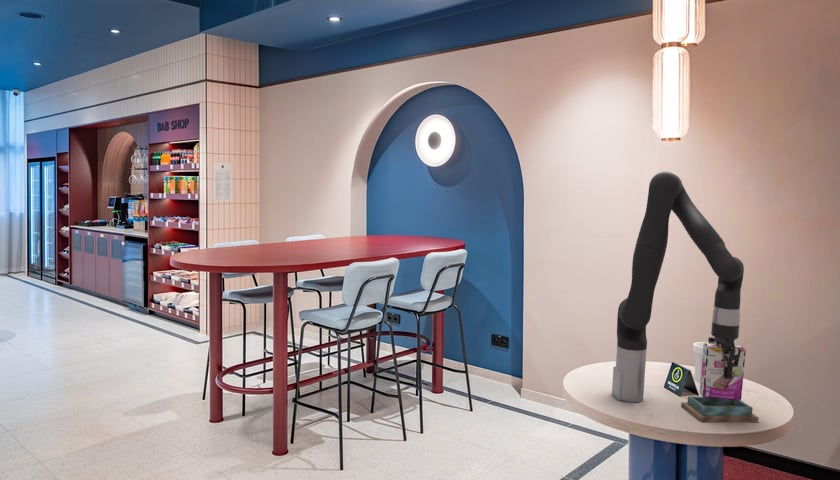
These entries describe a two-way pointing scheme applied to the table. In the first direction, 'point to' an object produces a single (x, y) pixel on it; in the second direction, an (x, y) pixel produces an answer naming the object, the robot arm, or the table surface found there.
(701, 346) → the foam cup
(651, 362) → the table surface
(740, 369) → the candy bar box
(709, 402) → the display base
